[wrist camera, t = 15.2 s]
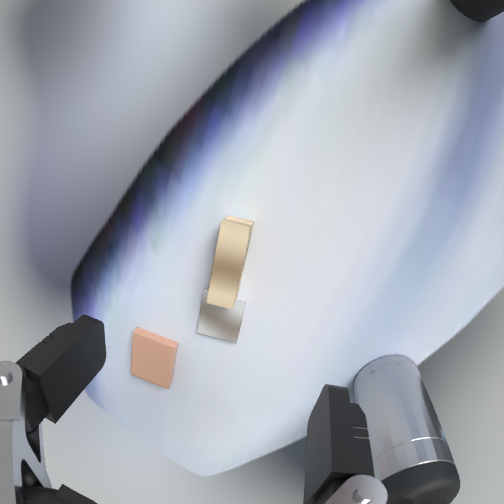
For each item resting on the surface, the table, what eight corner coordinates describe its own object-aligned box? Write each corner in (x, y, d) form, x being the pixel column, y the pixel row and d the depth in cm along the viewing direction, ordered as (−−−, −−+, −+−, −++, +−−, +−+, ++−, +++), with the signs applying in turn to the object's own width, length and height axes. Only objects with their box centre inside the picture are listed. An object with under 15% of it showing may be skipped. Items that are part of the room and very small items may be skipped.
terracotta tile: (133, 332, 38) (131, 374, 41) (174, 348, 38) (168, 389, 40) (138, 325, 40) (136, 367, 42) (179, 340, 39) (172, 381, 42)
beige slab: (218, 212, 33) (210, 219, 30) (264, 223, 33) (260, 231, 30) (198, 329, 38) (190, 343, 35) (237, 340, 38) (232, 355, 35)
